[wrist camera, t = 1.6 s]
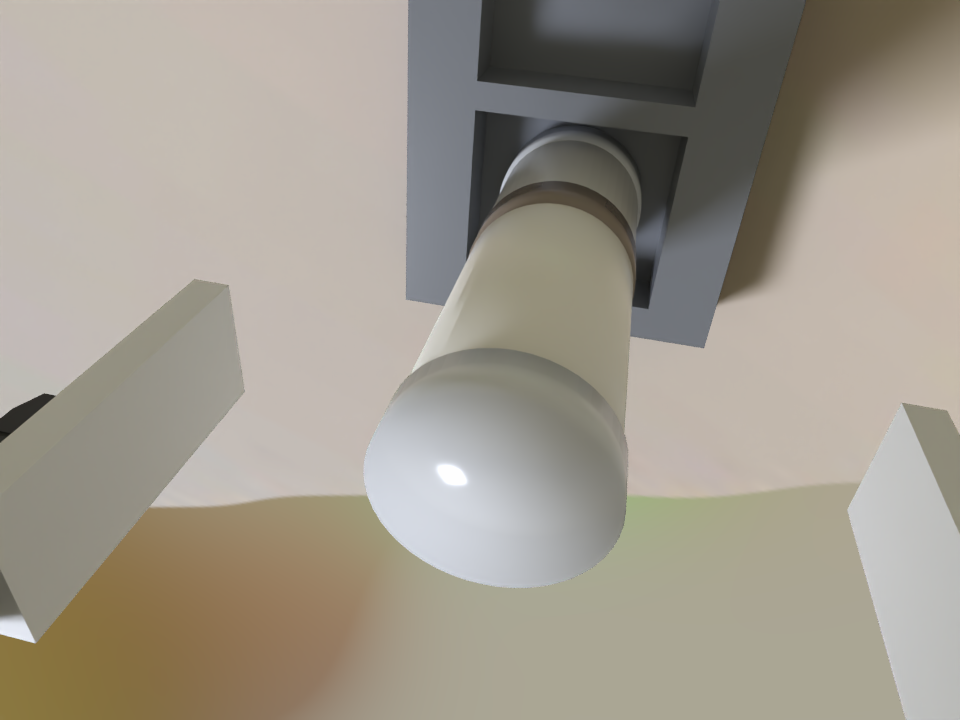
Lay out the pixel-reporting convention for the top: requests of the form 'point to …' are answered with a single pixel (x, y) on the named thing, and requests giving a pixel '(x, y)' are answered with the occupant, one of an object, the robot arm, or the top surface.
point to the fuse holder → (596, 127)
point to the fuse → (523, 380)
